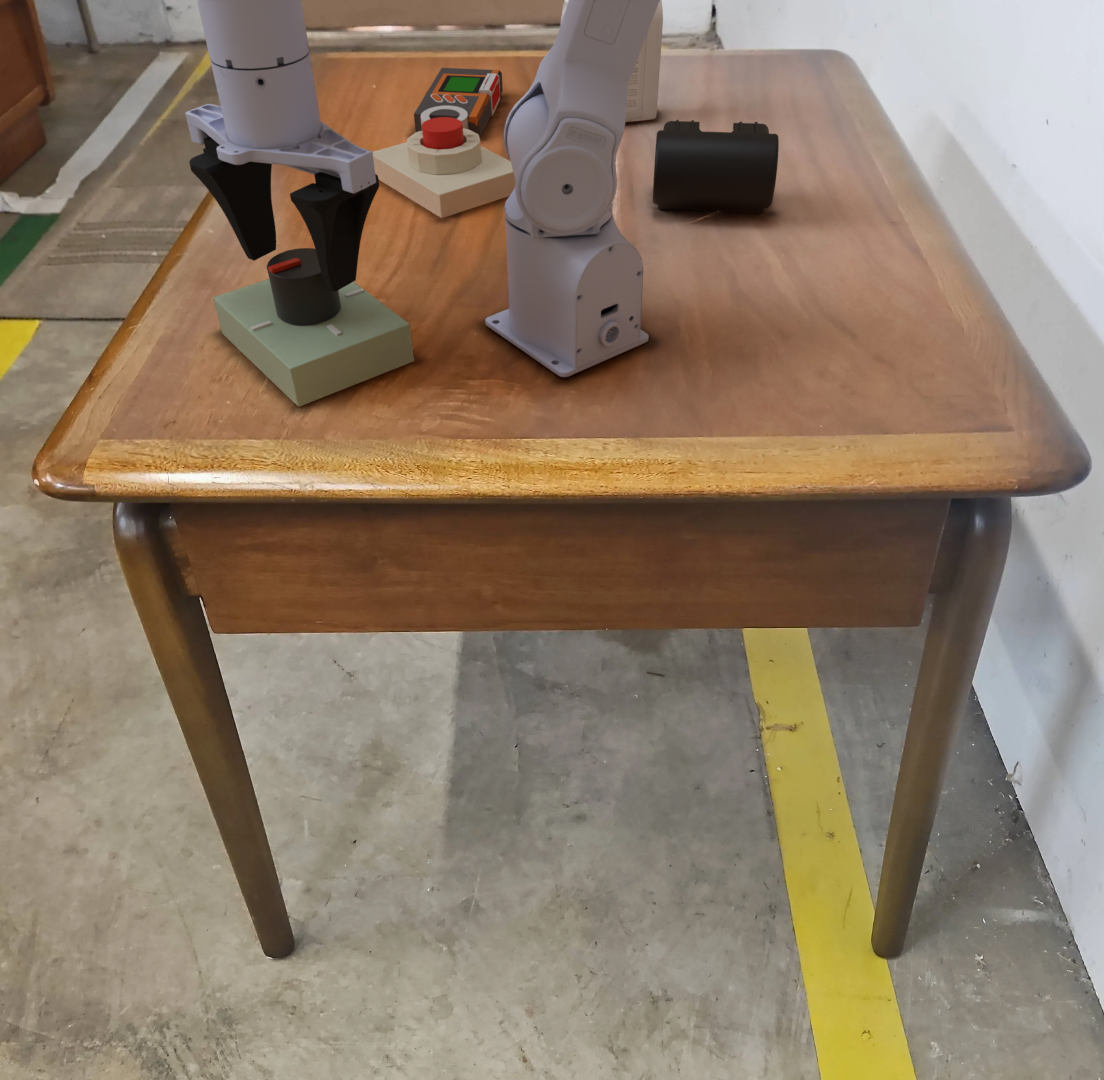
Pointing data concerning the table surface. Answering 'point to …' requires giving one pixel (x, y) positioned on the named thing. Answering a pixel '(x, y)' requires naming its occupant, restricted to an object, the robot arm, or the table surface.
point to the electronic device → (462, 97)
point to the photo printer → (644, 72)
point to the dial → (301, 288)
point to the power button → (442, 133)
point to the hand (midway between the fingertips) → (301, 268)
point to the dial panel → (315, 341)
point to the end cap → (715, 168)
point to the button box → (445, 174)
